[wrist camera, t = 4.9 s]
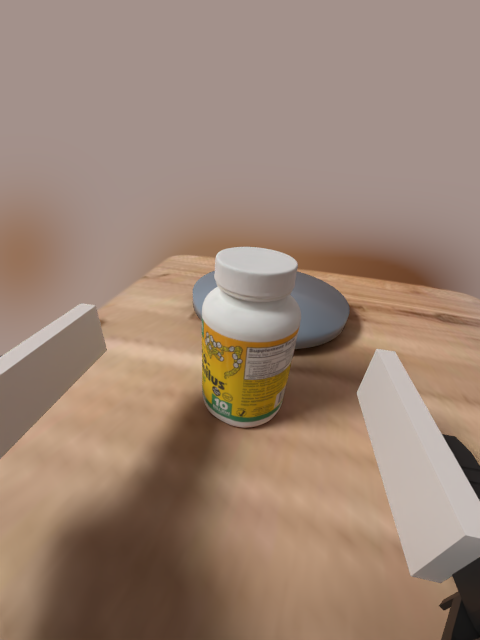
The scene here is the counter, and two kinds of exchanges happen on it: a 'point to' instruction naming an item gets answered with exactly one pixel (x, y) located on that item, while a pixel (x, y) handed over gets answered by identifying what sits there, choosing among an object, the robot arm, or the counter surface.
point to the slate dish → (314, 302)
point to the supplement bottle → (249, 335)
